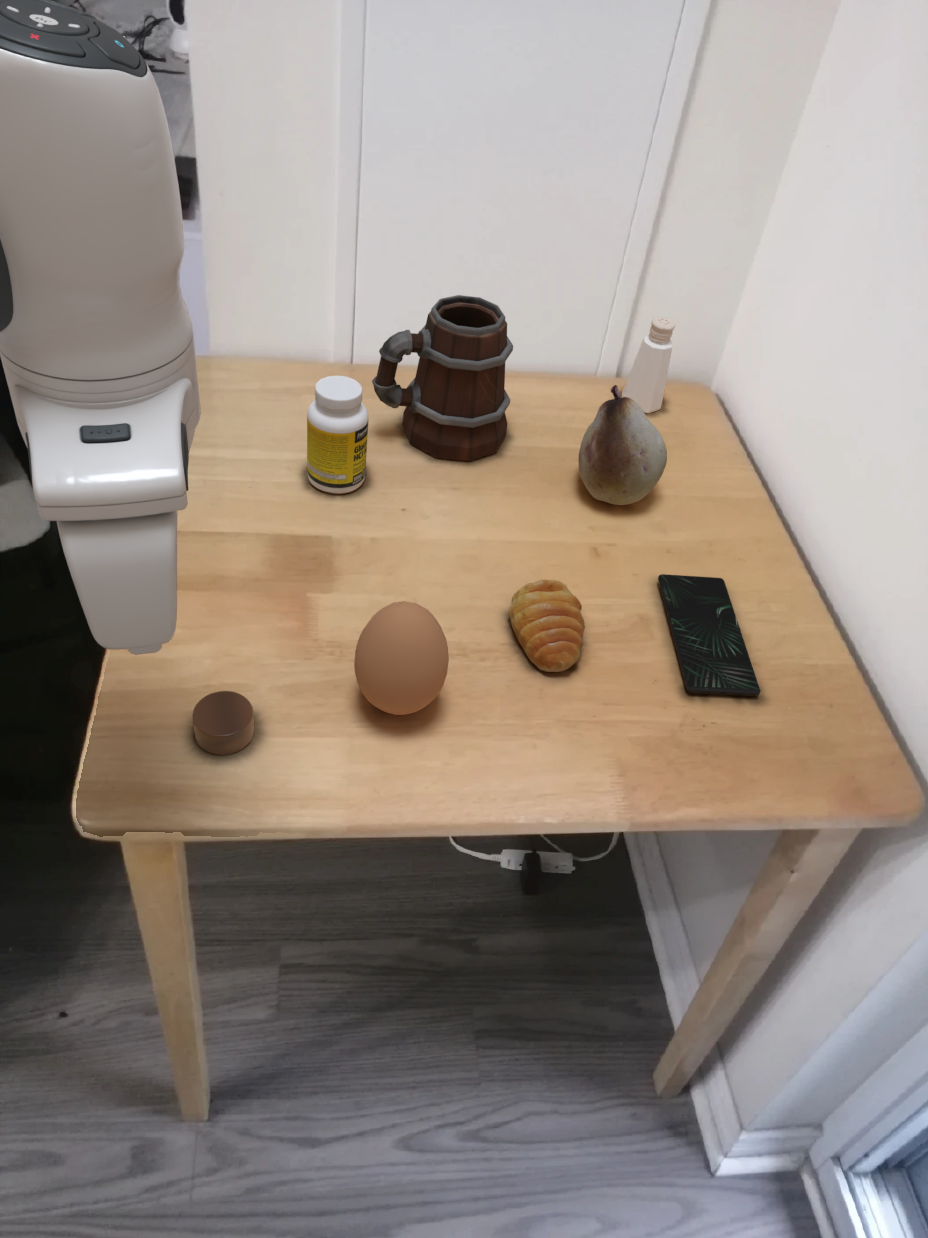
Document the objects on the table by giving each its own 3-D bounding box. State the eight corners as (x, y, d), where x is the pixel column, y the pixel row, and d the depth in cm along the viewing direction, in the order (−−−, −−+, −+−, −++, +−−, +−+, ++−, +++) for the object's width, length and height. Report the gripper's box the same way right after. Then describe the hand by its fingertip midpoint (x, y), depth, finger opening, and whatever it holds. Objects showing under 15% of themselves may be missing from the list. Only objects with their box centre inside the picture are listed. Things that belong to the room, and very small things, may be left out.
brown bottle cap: (197, 759, 73) (194, 740, 71) (192, 714, 76) (190, 694, 74) (257, 750, 74) (256, 731, 73) (250, 706, 77) (249, 686, 76)
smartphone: (688, 688, 83) (658, 572, 94) (685, 696, 84) (655, 580, 94) (762, 692, 84) (724, 576, 94) (758, 699, 85) (721, 584, 95)
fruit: (580, 455, 109) (602, 362, 100) (659, 475, 108) (689, 383, 99) (563, 505, 102) (586, 410, 93) (648, 528, 100) (679, 433, 92)
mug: (484, 401, 115) (502, 283, 104) (516, 458, 107) (539, 338, 96) (359, 408, 110) (364, 287, 100) (382, 469, 102) (390, 344, 92)
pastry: (593, 676, 84) (602, 647, 81) (519, 678, 83) (526, 649, 80) (571, 603, 91) (579, 574, 88) (503, 604, 90) (509, 574, 87)
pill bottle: (362, 498, 98) (367, 407, 91) (303, 492, 98) (303, 400, 90) (367, 464, 103) (372, 374, 95) (311, 458, 102) (311, 367, 95)
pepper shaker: (613, 391, 120) (634, 310, 112) (652, 389, 121) (675, 310, 114) (628, 414, 116) (651, 333, 109) (668, 413, 118) (693, 332, 110)
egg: (342, 726, 77) (345, 634, 69) (364, 660, 82) (370, 568, 75) (432, 745, 77) (446, 655, 69) (449, 678, 82) (463, 587, 74)
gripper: (43, 289, 53) (84, 487, 62) (31, 518, 39) (87, 725, 49) (160, 287, 54) (183, 480, 64) (188, 506, 41) (211, 708, 50)
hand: (141, 588), depth 56 cm, fingers open, 8 cm apart
